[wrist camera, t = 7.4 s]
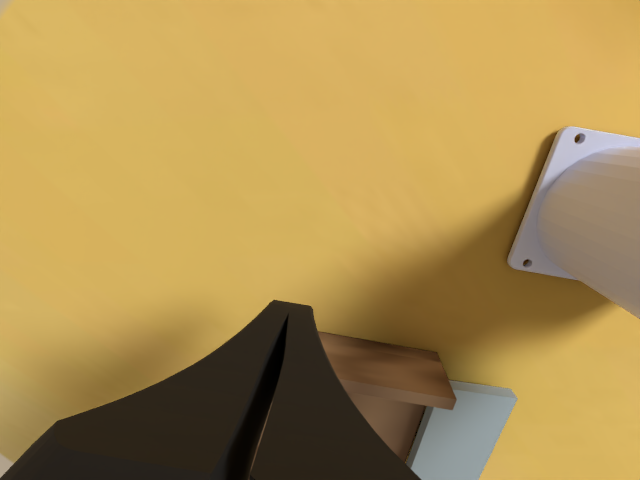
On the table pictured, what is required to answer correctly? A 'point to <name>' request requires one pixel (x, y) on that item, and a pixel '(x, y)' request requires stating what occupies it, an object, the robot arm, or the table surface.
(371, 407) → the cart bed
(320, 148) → the table surface
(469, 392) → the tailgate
